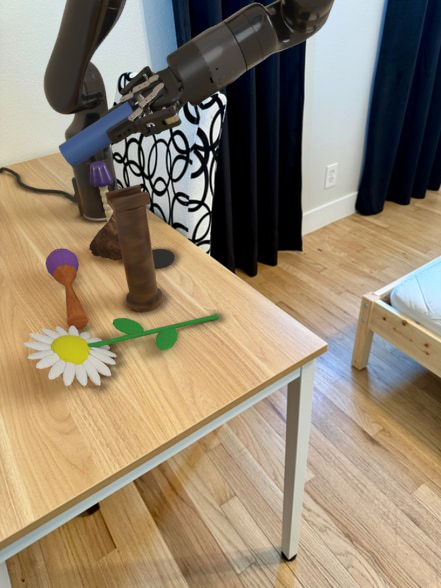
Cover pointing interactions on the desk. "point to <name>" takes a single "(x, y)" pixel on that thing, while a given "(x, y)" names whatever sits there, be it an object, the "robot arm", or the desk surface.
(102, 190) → the toy lamp
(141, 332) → the decorative flower
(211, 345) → the desk surface
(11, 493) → the desk surface
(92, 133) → the tube
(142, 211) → the post
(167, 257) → the coaster
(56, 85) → the robot arm
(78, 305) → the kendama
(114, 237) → the decorative rock
